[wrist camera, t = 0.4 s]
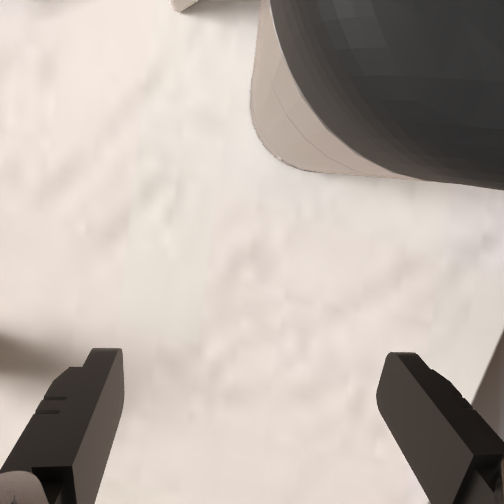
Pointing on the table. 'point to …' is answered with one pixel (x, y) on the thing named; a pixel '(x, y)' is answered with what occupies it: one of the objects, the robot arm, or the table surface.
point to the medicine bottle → (181, 4)
